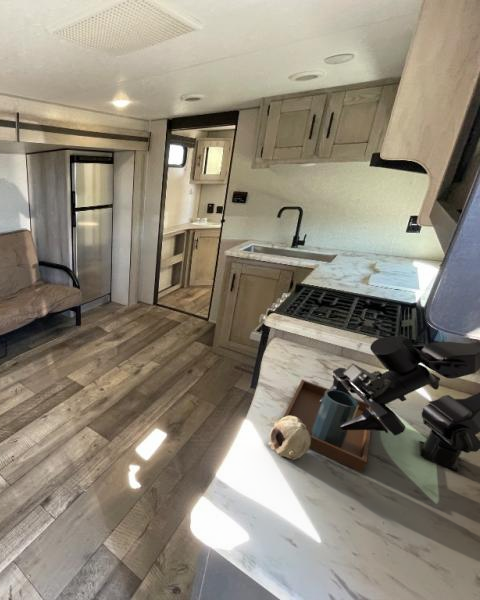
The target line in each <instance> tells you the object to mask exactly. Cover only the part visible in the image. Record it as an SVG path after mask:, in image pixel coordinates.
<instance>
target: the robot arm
mask: <svg viewBox="0 0 480 600" xmlns="http://www.w3.org/2000/svg"><path fill="white" fill-rule="evenodd" d="M369 349H370V351H371V352H372V354H373V355H374V356H375V358H377V360H378V361H379V363H381V365H382V366H383V367H384V368H385V370H386V371H384V372H383V373H382V372H381V371H379V370H375V371H373V372H369V371H368V370H367V369H364V368H362V367H360V366H358V365H357V364H355V363H351V364H350V365H349V366H348V367H347V368H345V367H338V368H336V369H334V370H333V371H332V373H333V375H332V378H333V381H332V385H331V386H330V388H328V389H329V390H339V391H342V392H345V393H347V394H349V395H351V396H353V395H352V394H356V396H358V397H359V398H360V400H361V401H364V402H365V403H366V404H367V405H368V406H369V407H370V408H371V410H372V411H373V412H371V411H370V410H369V409H368V408H367V407H366V408H365V409H364V411H363V413H362V414H361V415H359V416H357V417H355V418H353V419H351V420H350V421H348V422H346V423H344V424H342V425H341V426H340V427H341V429H342V430H371V431H375V432H376V431H378V432H384V433H385V434H389V433H391V434H392V435H393V436H396V437H397V436H398V435H400V434H402V433H404V431H405V429H406V425H405V423H404V422H402V420H401V419H400V418H399V417H398V415H397V414H396V412H394V411H393V410H392V409H390V407H389V406H387V404H390V403H392V402H394V401H396V400H399V401H401V402H405V401H407V398H406V395H408V394H411V393H413V392H416V391H417V390H419V389H421V388H424V387H425V386H429V387H431V389H433V390H439V387H440V381H441V378H440V376H441V377H443V378H446V379H458V378H462V377H466V376H469V375H473V374H476V373H477V372H478V371H479V370H480V341H476V342H470V343H465V342H464V343H463V342H457V341H456V342H455V341H437V342H430V343H427V344H413V342H412V340H411V339H410V338H409V337H407V336H406V335H404V334H399V335H398V336H385V337H379V338H377V339H376V340H374V341H372V342H371V344H370V348H369ZM429 369H430V370H431V371H432V372H430V370H429ZM433 372H435V373H437V374H438V375H440V376H438V375H436V374H435V373H433ZM322 399H323V398H322ZM322 399H321V400H320V401H319V402H320V403H321V402H322ZM421 418H422V423H423V424H424V425H425V426H426V427H428V428H429V429H430V432H429V434H428V435H427V437H426V439H425V441H421V440H419V441H418V450H419V456H420V457H421V458H423V459H426V460H428V461H431V462H433V463H436V464H437V465H440V466H443V467H446V468H448V469H451V470H453V471H456V472H459V471H460V466H459V461H458V459H459V458H460V456H461V454H462V453H463V452H464V453H465V454H470V453H471V452H473V453H474V452H478V451H479V450H480V439H479V438H478V436H477V435H478V434H479V433H480V391H479V392H478V393H475V394H473V395H470V396H468V397H465V398H454V397H452V396H451V395H449V394H447V395H442V396H440V397H439V398H437V399H434V400H430V401H428V404H426V405H425V406H424V407H423V408H422V412H421Z"/></svg>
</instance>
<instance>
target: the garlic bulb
mask: <svg viewBox="0 0 480 600" xmlns="http://www.w3.org/2000/svg"><path fill="white" fill-rule="evenodd" d="M310 444H311V437H310V434H309V432H308V431H307V429H306V426H305V425H304V424H303V423H302V421H301V420H300V419H299V418H297V417H295V416H286V417H284V416H283V417H282V418H280V419H279V420H277V421H276V422H275V423H274V426H273V427H272V428H271V430H270V433H269V442H268V445H269V447H270V448H271V450H273V451H274V452H275V453H276V454H277V455H278V456H280V457H285V458H287V459H290V460H298V459H300V458H301V457H303V456H304V455H305V454H306V453H307V452H308V451H309V449H310V448H309V447H310Z"/></svg>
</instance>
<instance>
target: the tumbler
mask: <svg viewBox="0 0 480 600" xmlns="http://www.w3.org/2000/svg"><path fill="white" fill-rule="evenodd" d="M351 395H352V394H351ZM351 395H349V394H347V393H345V392H342V391H339V390H327V391H325V393H324V396H323V399H322V402H321V404H320V407H319V410H318V413H317V416H316V419H315V421H314V424H313V427H312V430H311V435H312V436H314V437H316V438H318V439H321V440H323V441H325V442H327V443H330V444H332V445H334V446H337V447H339V448H342V445H343V444H344V441H345V439H346V436H347V434H348V431H349V430H342V429H341V427H340V426H341V425H342V424H344V423H346V422H348V421H350V420H351V419H353V418H354V417H355V414H356V412H357V409H358V407H359V402H358V401H357V399H358V398H356V397H354V396H353V395H352V396H351Z"/></svg>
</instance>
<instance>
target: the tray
mask: <svg viewBox="0 0 480 600" xmlns="http://www.w3.org/2000/svg"><path fill="white" fill-rule="evenodd" d="M300 380H301V381H300V383H299V384H298V386H297V388H296V390H295V392H294V395H293V397H292V399H291V400H290V403H289V405H288V407H287V409H286V411H285V413H284V415H283V417H286V416H295V417H297V418H299V419H300V420H301V421H302V423H303V424H304V425H305V426H306V429H307V431H308V432H309V434H310V437H311V444H310V447H309V449H310V450H313V451H315V452H317V453H318V454H321V455H323V456H326V457H327V458H330V459H332V460H334V461H336V462H338V463H340V464H343V465H345V466H347V467H349V468H351V469H354V470H356V471H357V472H360V473H364V470H365V468H366V466H367V464H368V458H369V451H370V440H371V432H372V430H349V431H348V434H347V436H346V439H345V441H344V444H343V445H342V448H339V447H337V446H334V445H332V444H330V443H327V442H325V441H323V440H321V439H318V438H316V437H314V436H312V435H311V430H312V427H313V424H314V421H315V419H316V416H317V413H318V410H319V407H320V404H321V403H320V402H319V401H320V400H321V399H322V398H323V396H324V393H325V391H327V390H329V389H330V388H327V387H324V386H321V385H319V384H316V383H313V382H311V381H307V380H305V379H300ZM356 399H357V401H358V402H359V407H358V409H357V412H356V414H355V417H357V416H359V415H361V414H362V413H363V411H364V409H365V408H366V407H367V408H368V409H369V410H370V411H371V412H373V411H372V410H371V408H370V407H369V406H368V405H367V404H366V403H365V402H364V401H363V400H362V399H358V398H356ZM355 417H354V418H355Z"/></svg>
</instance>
